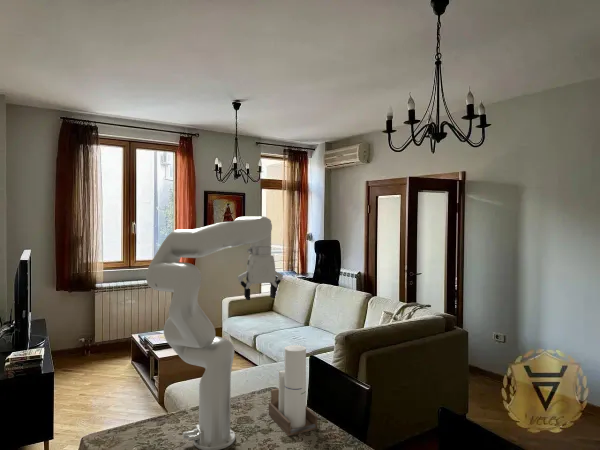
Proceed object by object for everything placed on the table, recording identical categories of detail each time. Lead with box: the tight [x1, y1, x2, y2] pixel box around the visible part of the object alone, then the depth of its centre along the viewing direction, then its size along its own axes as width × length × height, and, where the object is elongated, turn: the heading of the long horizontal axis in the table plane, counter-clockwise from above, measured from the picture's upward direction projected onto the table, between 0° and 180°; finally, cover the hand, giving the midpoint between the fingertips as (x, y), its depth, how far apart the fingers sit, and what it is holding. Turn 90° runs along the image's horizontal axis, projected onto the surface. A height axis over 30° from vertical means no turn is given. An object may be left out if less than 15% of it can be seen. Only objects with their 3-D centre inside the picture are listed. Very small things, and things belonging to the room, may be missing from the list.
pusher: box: [278, 369, 285, 415], centre depth 138 cm, size 8×1×16 cm, turn 116°
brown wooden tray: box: [268, 387, 319, 437], centre depth 136 cm, size 11×17×9 cm, turn 26°
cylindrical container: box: [284, 344, 307, 428], centre depth 134 cm, size 7×7×25 cm
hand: (260, 298), depth 146 cm, fingers open, 9 cm apart
